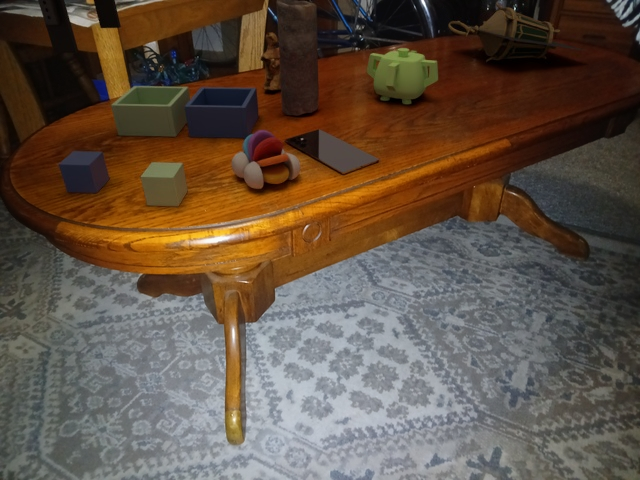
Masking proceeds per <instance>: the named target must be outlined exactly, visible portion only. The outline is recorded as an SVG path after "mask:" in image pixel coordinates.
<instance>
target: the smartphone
mask: <svg viewBox="0 0 640 480" xmlns="http://www.w3.org/2000/svg"><path fill="white" fill-rule="evenodd" d="M284 142H285V143H286V144H288V145H290V146H292V147H293V148H295V149H297V150H298V151H301V152H303V153H304V154H305V155H308V156H309V157H312V158H313V159H315V160H317V161H318V162H320V163H322V164H324V165H326V166H327V167H328V168H331V169H332V170H334V171H336V172H337V173H339V174H342V175H345V174H348V173H351V172H354V171H356V170H359V169H361V168H365V167H367V166H370V165H373V164H375V163H379V162H380V159H379V158H378V157H376V156H374V155H372V154H370V153H368V152H366V151H364V150H362V149H360V148H358V147H356V146H354V145H352V144H350V143H348V142H346V141H344V140H342V139H340V138H338V137H336V136H334V135H332V134H330V133H328V132H326V131H324V130H322V129H315V130H311V131H309V132H305V133H302V134H298V135H295V136H292V137H289V138H285V139H284Z"/></svg>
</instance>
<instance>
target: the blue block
mask: <svg viewBox="0 0 640 480" xmlns="http://www.w3.org/2000/svg"><path fill="white" fill-rule="evenodd" d="M58 168H59V170H60V174H61V177H62V180H63V183H64V185H65V186H64V187H65V190H66V192H67V193H79V194H98V193H99V192H100V191H101V189H103V187H104V186H105V185H106V184H107V183H108V181H110V179H111V178H110V175H109V171H108V166H107V163H106V159H105V155H104V152H103V151H85V150H84V151H83V150H82V151H81V150H73V151H72V152H71V153H69V155H67V156H66V157H65V158H64V159H63V160H61V161H60V162H59V163H58Z"/></svg>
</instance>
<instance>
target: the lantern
mask: <svg viewBox="0 0 640 480" xmlns="http://www.w3.org/2000/svg"><path fill="white" fill-rule="evenodd" d="M495 5H496V8H498V10H496V11H495V13H494V14H493V15H491V16H490V17H489V19H487V20H486V21H483V22H482V23H483V24H482V25H480V26H478V25H475V26H474V25H469V24H465V23H463V22H461V21H460V20H457V21H456V20H452V21H450V22H449V23H448V28H449V30H450V31H451V32H453V33H454V34H458V35H460V36H464V37H468V35H469V33H472V34H473V36H478V38H479V39H480V42H481V44H482V47H480V48H478V51H484V52H485V55H487V56H488V57H489V58H487V59H486V60H485V62H486V63H487V62H489V61H491V60H493V61H496V62H497V61H502V60H506V59H524V58H525V59H526V58H527V59H528V58H534V59H538V60H539V59H544V60H547V56H546V54H547V53H548V51H550V50H551V49H552V50H557V47H558V48H564V49H571V50H577V51H585V52H587V50H586V49H582V48H579V47H575V46H571V45H567V44H564V43H559V42H556V41H553V39H554V34H557V33H559V32H561V30H560V29H555V28H554V27H553V26H554V23H551V22H549V21H540V20H537V19H535V18H533V17H530V16H527V15H525V14H521V13H519V12H516V11H515V9H514V8H512V7H507V6H505V7H503V6H501V5H500V4H499V3H498V2H496V3H495ZM452 25H458V26H460V27H463V29H465V30H466V32H465V31H461V30H458V29H455V28H454V27H453V26H452Z"/></svg>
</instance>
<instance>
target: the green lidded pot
mask: <svg viewBox="0 0 640 480" xmlns="http://www.w3.org/2000/svg"><path fill="white" fill-rule="evenodd" d="M377 61H379V62H378V64H377ZM366 67H367V68H366V73H367V75H369V76H370V77H371V78H372V79H373V89H374V92H375V94H377V95H379V96H381V97H380V98H379V100H380V101H384V102H386V101H390V99H391V98H393V99H401V103H402V104H403V105H411V104H412V100H415V99H418V98H419V97H420V96H422V95H423V93H424V92H425V90H426V89H427V87H429V86H431V85H432V84H434V83H436V82H438V81H439V70H438V69H439V68H438V60H433V59H431V60H430V59H426V56H425V55H424V54H421V53H418V51H417V50H410V49H409V48H406V47H400V48H398V49H397V50H392V51H388V52H387V53H385V54H381V53H376V52H372V53H370V54H369V58H368V62H367V66H366ZM428 67H429V68H428Z"/></svg>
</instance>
